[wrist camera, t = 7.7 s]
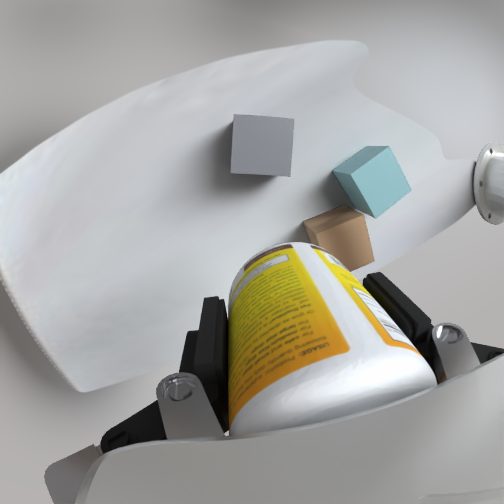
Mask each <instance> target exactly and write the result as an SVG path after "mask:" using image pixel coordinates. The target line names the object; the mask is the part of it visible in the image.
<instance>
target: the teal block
mask: <svg viewBox="0 0 504 504" xmlns="http://www.w3.org/2000/svg"><path fill="white" fill-rule="evenodd" d="M332 171H333V173H334V174H335V176H336V177H337V179H338V180H339V182H340V184H341V185H342V187H343V188H344V190H345V192H346V193H347V195H348V197H349V198H350V200H351V202H352V203H353V205H354V207H355V208H356V209H358V210H360V211H362V212H364V213H366V214H368V215H370V216H372V217H374V218H377V217H378V216H380V215H381V214H382V213H384V212H385V211H386V210H387V209H389V208H390V207H391V206H392V205H394V204H395V203H396V202H398V201H399V200H400V199H401V198H403V197H404V196H405V195H406V194H407V193H409V192H410V191H411V188H410V186H409V184H408V182H407V180H406V177H405V175H404V173H403V171H402V169H401V168H400V166H399V164H398V162H397V160H396V158H395V156H394V154H393V152H392V150H391V149H390V147H389V146H366V147H365V148H363V149H362V150H360V151H359V152H358V153H356V154H355V155H353V156H352V157H351V158H349V159H348V160H346V161H345V162H344V163H342V164H341V165H339V166H338V167H337V168H335V169H334V170H332Z"/></svg>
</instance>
